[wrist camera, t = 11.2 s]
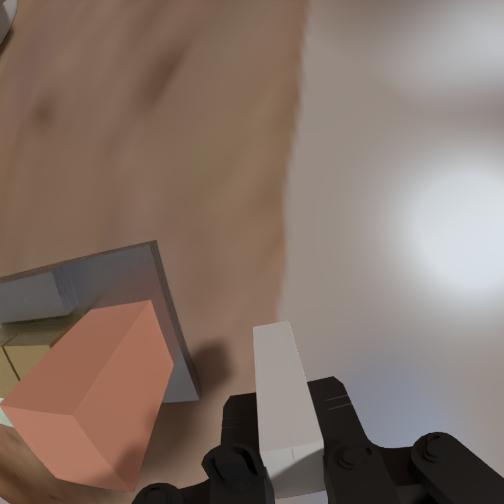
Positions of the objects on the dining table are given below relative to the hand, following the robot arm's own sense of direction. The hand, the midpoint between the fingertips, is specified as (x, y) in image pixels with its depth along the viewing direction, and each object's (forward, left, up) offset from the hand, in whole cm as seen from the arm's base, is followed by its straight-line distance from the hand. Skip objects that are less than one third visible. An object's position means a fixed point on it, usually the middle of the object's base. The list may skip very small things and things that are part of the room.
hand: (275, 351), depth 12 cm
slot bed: (-12, 0, -4) cm, 13 cm away
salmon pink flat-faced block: (-8, 0, -3) cm, 9 cm away
